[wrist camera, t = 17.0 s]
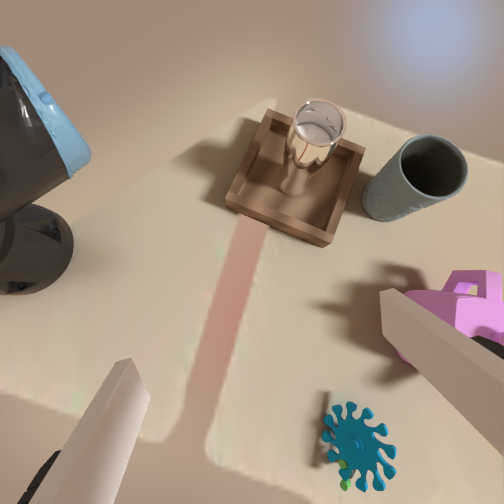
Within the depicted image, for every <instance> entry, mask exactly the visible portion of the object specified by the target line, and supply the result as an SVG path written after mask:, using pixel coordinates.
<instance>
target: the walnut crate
mask: <svg viewBox="0 0 504 504" xmlns="http://www.w3.org/2000/svg"><path fill="white" fill-rule="evenodd" d="M292 119H293V118H290V117H288V116H285V115H283V114H281V113H278V112H276V111H273V110H271V109H267V111H266V113H265V115H264V117H263V119H262V121H261V124H260V126H259V128H258V130H257V132H256V134H255V136H254V138H253V140H252V142H251V144H250V147H249V149H248V151H247V153H246V155H245V157H244V159H243V161H242V163H241V165H240V168H239V170H238V172H237V174H236V176H235V178H234V180H233V182H232V184H231V186H230V188H229V191H228V193H227V195H226V197H225V203H226V208H229V209H231V210H233V211H236V212H238V213H240V214H243V215H245V216H248V217H250V218H252V219H255V220H257V221H260V222H262V223H264V224H267V225H269V226H271V227H274V228H276V229H279V230H281V231H283V232H286V233H288V234H291V235H293V236H295V237H298V238H300V239H302V240H305V241H307V242H310V243H312V244H314V245H317V246H319V247H321V248H324V247H326V246H327V245H329V244H331V243H332V240H333V237H334V234H335V232H336V229H337V226H338V223H339V221H340V218H341V215H342V212H343V210H344V207H345V204H346V201H347V199H348V196H349V193H350V190H351V188H352V185H353V182H354V179H355V177H356V174H357V171H358V168H359V166H360V163H361V160H362V157H363V155H364V152H365V149H366V148H365V147H362V146H360V145H357V144H355V143H352V142H350V141H347V140H345V139H343V138H341V140H340V142H339V144H338V146H337V148H336V150H335V151H334V153H333V155H332V157H331V158H330V159H329V161H328V162H327V163H326V165H325V166H324V167H323V168H322V169H321V170H320V171H319V172H318V173H316V174H315V175H314V176H313V177H312V178H311V180H310V185H309V187H308V189H307V190H306V192H304V193H303V194H301V195H299V196H289V195H287V194H285V193H283V192H282V191H281V190H280V189H279V187H278V184H277V176H278V173H279V171H280V170H281V168H282V167H283V150H284V143H285V139H286V135H287V132H288V129H289V126H290V124H291V122H292Z"/></svg>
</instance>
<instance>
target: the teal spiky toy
mask: <svg viewBox="0 0 504 504" xmlns="http://www.w3.org/2000/svg"><path fill="white" fill-rule="evenodd" d="M346 407H347V417H346V420H344V419H343V418H342V417H341V413H342V410H343V409H342V406H341V405H335V406H332V410H333V412H334V413H335V415H336V417H337V420H338V427H336V426H335V425H334V420H333V417H332V415H330V414H329V415H327V416H326V417H325V418H324V423H325V424H327V425H328V426H329V427H330V428H331V429H332V430H333V432H334V434H335V436H336V439H333V437H332V436H331V434H330V432H329V431H327V430H326V431H324V432H323V435H322V440H323V441H324V442H329V443H332V444H333V445H335V446H336V447H337V448H338V450H339V454H337V453H336V452H335V451H334V450H329V451H328V452H327V455H328V459H329V461H330V462H334V461H336V460H337V459H341V460H340V461H339V465H340V467H341V469H340V470H339V474H340V476H341V477H342V479H343V480H342V481H341V482H340V486H341V488H342V489H343V490H344V491H346V490H347V489H348V488H349V487H350V486H351V482H350V480H349V479H351V478H352V477H353V476H354V474H355V472H356V469H358V470H359V471H360V473H361V477H360V478H358V479H357V481H356V487H357V488H358V489H359V490H361V491H363V492H365V491H366V490H367V489H368V485H367V481H366V474H367V471H368V470H370V471H372V473H373V474H374V480H373V487H374V489H375V490H377V491H383V490H384V489H385V483H384V481H383V480H382V479H381V477H380V475H379V473H378V470H377V464H376V463H377V462H379V463H381V465H382V466H383V470H384V474H385V476H386V477H387V478H388V479H389V480H390V479H392V478H393V477H394V475H395V474H396V470H395V468H394V467H393V466H391V465H389V464H388V463H387V462H386V461H385V460H384V459H383V457H382V456H381V454H380V452H379V448H382V449H383V450H384V451H385V453H386V454H387V456H388V457H389V458H391V459H394V458H395V456H396V447H395V446H393V445H387V444H384V443H382V442H380V441H379V440H378V439H376V438H375V436H374V432H377V433H379V434H380V435H381V436H387V435H388V430H387V427H386V425H385V424H383V423H381V424H379V425H378V426H377V427H368V426H366V425H365V423H364V419H371V418H373V416H374V414H373V413H372V411H371V410H370V409H369V408H365V409H363V411H362V415H361V417H360V418H359V419H357V420H356V419H354V418H353V417H352V412H353V411H355V410H356V409H357V405H356V404H355V403H353V402H350V401H349V402H347V403H346Z"/></svg>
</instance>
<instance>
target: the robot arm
mask: <svg viewBox="0 0 504 504" xmlns="http://www.w3.org/2000/svg"><path fill="white" fill-rule="evenodd" d="M90 159H91V150H90V148H89V146H88V144H87V143H86V141H85V140H84V139H83V137H82V136H81V134H79V132H78V130H77V129H76V128H75V126H74V125H73V124H72V123H71V121H70V120H69V119H68V117H67V116H66V115H65V113H64V112H63V111H62V109H61V108H60V107H59V106H58V104H57V103H56V102H55V101H54V100H53V98H52V97H51V95H50V94H49V93H48V92H47V90H46V89H45V88H44V87H43V85H42V84H41V82H40V81H39V80H38V78H37V77H36V76H35V75H34V73H33V72H32V71H31V69H30V68H29V67H28V66H27V64H26V63H25V62H24V61H23V59H22V58H21V57H20V56H19V54H18V53H17V52H16V51H15V50H14V49H13V48H11V47H10V46H1V47H0V295H26V294H31V293H35V292H38V291H40V290H42V289H44V288H46V287H48V286H49V285H51V284H52V283H53V282H55V281H56V280H57V279H58V278H59V277H60V276H61V275H62V274H63V272H64V271H65V269H66V268H67V266H68V264H69V262H70V260H71V257H72V253H73V235H72V232H71V229H70V227H69V226H68V224H67V223H66V221H65V220H64V219H63V218H62V217H61V216H60V215H58V214H57V213H55V212H53V211H51V210H48V209H46V208H44V207H41V206H39V205H35V204H31V203H32V202H34V201H35V200H37V199H38V198H40V197H41V196H43V195H44V194H46V193H47V192H49V191H50V190H52V189H54V188H55V187H57V186H58V185H60V184H61V183H63V182H64V181H66V180H67V179H71V178H72V177H73V174H74V173H76V172H77V171H78V170H80V169H81V168H82V167H84V166H85V165H87V164H88V163H89V161H90ZM379 293H380V306H381V320H382V333H383V336H384V337H385V338H386V339H387V340H388V341H389V342H390V343H391V344H392V345H393V346H394V347H395V348H396V349H397V350H398V351H399V352H400V353H401V354H402V355H403V356H404V357H405V358H406V359H407V360H408V361H409V362H410V363H411V364H412V365H413V366H414V367H415V368H416V369H417V370H418V371H419V372H420V373H421V374H422V375H423V376H424V377H425V378H426V379H427V380H428V381H429V382H430V383H431V384H432V385H433V386H434V387H435V388H436V389H437V390H438V391H439V392H440V393H441V394H442V395H443V396H444V397H445V398H446V399H447V400H448V401H449V402H450V403H451V404H452V405H453V406H454V407H455V408H456V409H457V410H458V411H459V412H460V413H461V414H462V415H463V416H464V417H465V418H466V419H467V420H468V421H469V422H470V423H471V424H472V425H473V426H474V427H475V428H476V429H477V430H478V431H479V433H480V434H481V435H482V436H483V437H484V438H485V439H486V440H487V441H488V442H489V443H490V444H491V445H492V446H493V447H494V448H495V449H496V450H497V451H498V452H499V453H500V454H501V455H502V456H503V457H504V346H503V345H501V344H499V343H498V342H495V341H492V340H490V339H487V338H484V337H482V336H479V335H478V336H474V337H470V338H469V337H468V336H466V335H465V334H463V333H462V332H460V331H459V330H457V329H456V328H454V327H453V326H451V325H449V324H448V323H446V322H445V321H443V320H442V319H440V318H439V317H437V316H436V315H434V314H433V313H431V312H430V311H428V310H427V309H425V308H423V307H422V306H420V305H419V304H417V303H416V302H414V301H413V300H411V299H410V298H408V297H407V296H405V295H404V294H402V293H401V292H399V291H397V290H396V289H394V288H391V289H388V290H384V291H380V292H379ZM150 399H151V397H150V395H149V393H148V391H147V389H146V387H145V385H144V383H143V381H142V379H141V377H140V375H139V373H138V371H137V369H136V367H135V365H134V363H133V361H132V359H131V358H129V359H125V360H121V361H117V362H116V363H115V365H114V366H113V368H112V369H111V371H110V373H109V374H108V376H107V378H106V379H105V381H104V382H103V384H102V386H101V387H100V389H99V390H98V392H97V394H96V395H95V397H94V399H93V400H92V402H91V403H90V405H89V407H88V408H87V410H86V411H85V413H84V415H83V416H82V418H81V420H80V421H79V423H78V424H77V426H76V428H75V429H74V431H73V433H72V434H71V436H70V437H69V439H68V441H67V442H66V444H65V445H64V447H63V449H62V450H59V451H56V452H55V453H54V454H53V455H52V456H51V457H50V458H49V460H48V461H47V462H46V463H45V464H44V465H43V466H42V467H41V468H40V470H39V471H38V473H37V474H36V476H35V477H34V479H33V480H32V482H31V483H30V485H29V486H28V488H27V492H24V494H23V496H22V497H21V499H20V500H19V502H18V503H17V504H113V503H114V500H115V497H116V494H117V492H118V489H119V486H120V483H121V480H122V478H123V475H124V472H125V469H126V466H127V464H128V461H129V458H130V455H131V452H132V450H133V447H134V444H135V441H136V438H137V436H138V433H139V430H140V427H141V424H142V422H143V419H144V416H145V413H146V410H147V408H148V405H149V402H150Z"/></svg>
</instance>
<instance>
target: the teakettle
mask: <svg viewBox="0 0 504 504" xmlns="http://www.w3.org/2000/svg"><path fill="white" fill-rule="evenodd" d="M471 285H478V290H477V296H475V295H469V294H467V293H468V291H469V289H470V287H471ZM403 294H404V295H405V296H407V297H408V298H410V299H411V300H413V301H414V302H416V303H417V304H419V305H420V306H422V307H423V308H425V309H427V310H428V311H430V312H431V313H433V314H434V315H436V316H437V317H439V318H440V319H442V320H443V321H445V322H446V323H448V324H449V325H451V326H453V327H454V328H456V329H457V330H459V331H460V332H462V333H463V334H465V335H466V336H468V337H469V338H470V337H474V336H478V335H479V336H482V337H484V338H487V339H490V340H492V341H495V342H498V343H499V344H501V345H503V346H504V302H502V292H501V274H500V273H496V272H491V271H487V270H455V271H452V273H451V275H450V277H449V278H448V280H447V282H446V284H445V286H444V288H443V289H442V291H437V290H410V291H407V292H405V293H403ZM396 352H397V354H398V355H399V356H400V357H401V358H402V359H403V360H404V361H406V362H408V363H410V362H409V361H408V360H407V359H406V358H405V357H404V356H403V355H402V354H401V353H400V352H399V351H398V350H397V349H396ZM410 364H411V363H410Z"/></svg>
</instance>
